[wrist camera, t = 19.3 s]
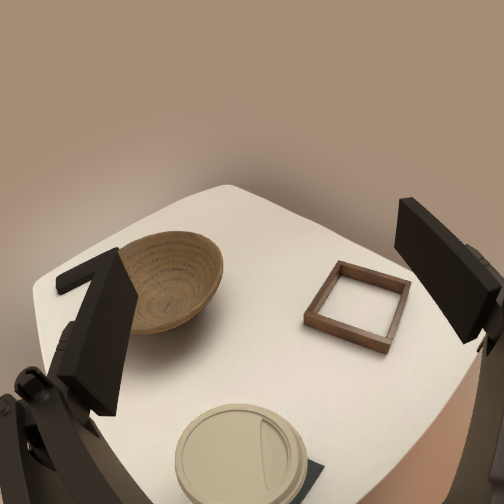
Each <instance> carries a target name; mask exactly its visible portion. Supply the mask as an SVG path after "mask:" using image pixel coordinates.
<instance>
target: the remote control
mask: <svg viewBox="0 0 504 504" xmlns="http://www.w3.org/2000/svg"><path fill="white" fill-rule="evenodd" d="M118 250H120V249H119V248H118V247H115V248H113V249H111V250H109V251H106V252H104V253H102V254H100V255H98V256H96V257H94V258H92V259H90V260H88V261H86V262H84V263H82V264H80V265H78V266H76V267H74V268H72V269H70V270H68V271H66V272H64V273H62V274H60V275H59V276H57V278H56V289H57V291H58V294H60V295H61V294H63V293H65V292H67V291H69V290H71V289H73V288H75V287H77V286H79V285H81V284H83V283H85V282H87V281H89V280H91V279H92V278H93V276H94V274H95V272H96V269H97V267H98V265H99V263H100V261H101V258H102V256H103V254H107V253H112V252H116V251H118Z"/></svg>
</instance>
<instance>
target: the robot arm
mask: <svg viewBox="0 0 504 504" xmlns="http://www.w3.org/2000/svg"><path fill="white" fill-rule="evenodd" d="M394 248H395V249H396V250H397V252H398V253H399V254H400V255H401V256H402V258H403V259H404V260H405V262H406V263H407V264H408V266H409V267H410V268H411V270H412V271H413V272H414V274H415V275H416V276H417V278H418V279H419V280H420V282H421V283H422V284H423V286H424V287H425V288H426V290H427V291H428V293H429V294H430V295H431V297H432V298H433V300H434V301H435V302H436V304H437V305H438V307H439V308H440V310H441V311H442V313H443V314H444V315H445V317H446V318H447V320H448V321H449V323H450V324H451V326H452V327H453V329H454V331H455V332H456V334H457V335H458V337H459V338H460V340H461V341H462V343H463V344H466V343H468V342H470V341H472V340H474V339H476V338H477V337H478V335H479V333H480V332H481V330H482V328H483V329H484V331H485V332H486V335H485V336H484V338H483V340H482V342H481V343H480V345H479V347H478V349H477V352H479V351H480V350H481V348H482V347H483V351H482V360H481V368H480V375H479V382H478V388H477V394H476V399H475V404H474V409H473V414H472V418H471V423H470V427H469V431H468V435H467V439H466V443H465V446H464V450H463V453H462V456H461V459H460V463H459V466H458V469H457V472H456V475H455V478H454V480H453V483H452V486H451V488H450V491H449V494H448V496H447V498H446V499H445V501H444V502H443V503H442V504H504V278H503V277H502V276H501V275H500V274H499V273H498V272H497V271H496V269H495V268H493V266H492V265H490V263H489V262H488V261H487V260H486V259H484V257H483V256H482V255H481V254H480V253H479V252H478V251H477V250H476V249H474V248H473V247H471V246H469V245H468V244H466V245H464V244H463V243H462V242H461V241H459V239H458V238H457V237H456V236H455V235H454V234H453V233H452V232H450V230H448V229H447V228H446V227H445V226H444V225H443V224H442V223H441V222H440V221H439V220H438V219H437V218H435V217H434V216H433V215H432V214H431V213H430V212H429V211H428V210H427V209H426V208H424V207H423V206H422V205H421V204H420V203H419V202H418V201H416V200H415V199H414V198H413V197H410V198H403V199H399V209H398V219H397V228H396V237H395V244H394ZM138 297H139V295H138V293H137V291H136V289H135V287H134V285H133V283H132V281H131V279H130V277H129V275H128V273H127V271H126V269H125V267H124V264H123V262H122V260H121V258H120V256H119V253H118V251H116V252H112V253H107V254H103V256H102V258H101V261H100V263H99V265H98V267H97V269H96V272H95V274H94V276H93V278H92V281H91V283H90V285H89V288H88V290H87V292H86V295H85V297H84V299H83V302H82V304H81V307H80V309H79V312H78V314H77V317H76V320H75V321H70V322H69V323H68V325H67V326H66V327H65V329H64V330H63V332H62V334H61V337H60V340H59V343H58V345H57V348H56V352H55V353H54V356H53V359H52V362H51V365H50V368H49V371H48V374H47V377H46V376H45V375H44V374H43V373H42V372H41V371H40V370H39V369H38V368H37V367H34V366H32V367H28V368H26V369H24V370H23V371H22V372H21V373H20V374H19V376H18V377H17V379H16V382H15V385H14V388H15V392H16V393H17V394H18V395H19V396H20V397H22V399H21V400H16V399H15V398H14V397H13V396H12V395H10V394H4V395H3V396H1V397H0V488H1V493H2V499H3V503H4V504H153V503H152V502H151V500H150V499H149V498H148V497H147V496H146V494H145V493H144V492H143V491H142V490H141V488H140V487H139V486H138V485H137V483H136V482H135V481H134V479H133V478H132V477H131V476H130V474H129V473H128V472H127V470H126V469H125V468H124V466H123V465H122V463H121V462H120V461H119V459H118V458H117V456H116V455H115V454H114V452H113V451H112V449H111V448H110V446H109V445H108V443H107V442H106V440H105V439H104V437H103V435H102V434H101V432H100V431H99V429H98V428H97V426H96V424H95V423H94V421H93V420H92V419H91V418H90V417H89V415H90V409H91V410H92V411H94V412H95V413H96V414H97V415H98V416H116V410H117V403H118V397H119V390H120V384H121V378H122V373H123V367H124V362H125V356H126V351H127V346H128V341H129V337H130V332H131V327H132V323H133V318H134V314H135V310H136V305H137V301H138ZM27 443H28V444H29V450H28V447H27Z"/></svg>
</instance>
